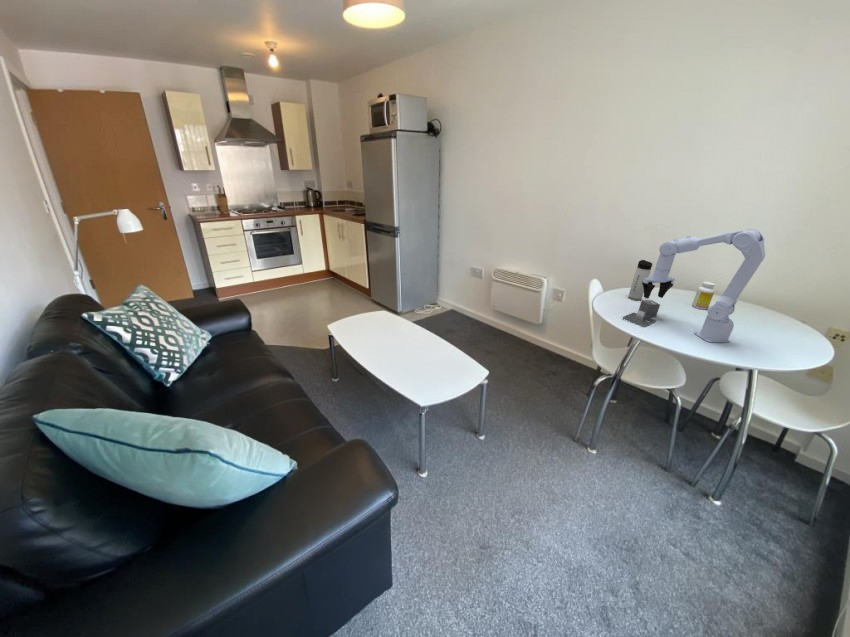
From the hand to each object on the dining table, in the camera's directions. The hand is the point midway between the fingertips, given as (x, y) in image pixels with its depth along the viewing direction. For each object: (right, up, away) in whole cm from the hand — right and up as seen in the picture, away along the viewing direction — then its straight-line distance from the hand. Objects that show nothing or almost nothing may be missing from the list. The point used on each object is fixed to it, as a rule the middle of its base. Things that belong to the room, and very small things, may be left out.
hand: (653, 297), depth 161 cm
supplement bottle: (+34, -4, +17) cm, 39 cm away
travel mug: (+7, +1, +25) cm, 26 cm away
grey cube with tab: (+1, -8, +7) cm, 10 cm away
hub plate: (-7, -11, -1) cm, 13 cm away
